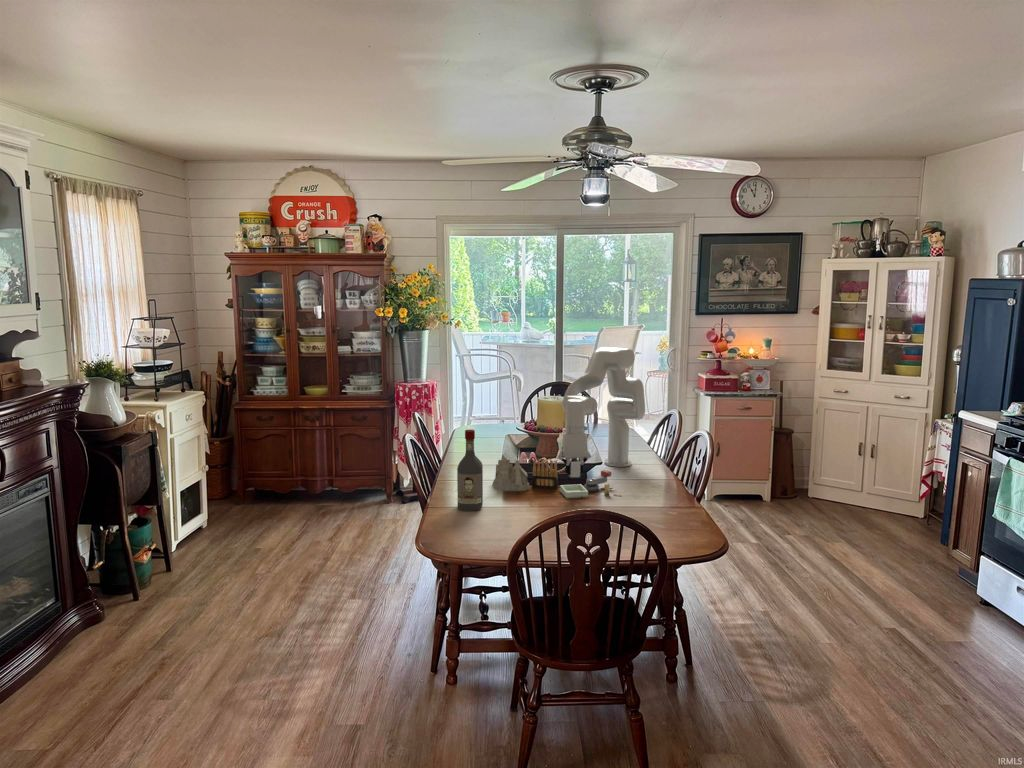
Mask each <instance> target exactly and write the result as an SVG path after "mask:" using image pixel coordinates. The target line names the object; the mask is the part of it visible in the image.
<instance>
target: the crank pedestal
mask: <svg viewBox="0 0 1024 768" xmlns="http://www.w3.org/2000/svg"><path fill="white" fill-rule="evenodd" d="M586 484H587V483H585V484H584V485H583V487H584V488H585V489H586V490H587V491H588V493H597V492H599V487H600V486H599V485H600V484H598V485H596V486H594V487H590V486H587V485H586ZM610 487H611V485H610V484H609V483H604V493H603V495H604V496H605V497H609V496H610ZM613 496H616V497H622V495H621V494H616V493H613Z"/></svg>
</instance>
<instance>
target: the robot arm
mask: <svg viewBox="0 0 1024 768" xmlns="http://www.w3.org/2000/svg"><path fill="white" fill-rule="evenodd" d="M634 363H635V352H634V351H633V350H632V349H631V348H627V347H626V348H625V347H624V348H623V347H610V346H609V347H608V346H601V347H599V348H597V349H596V350H594V351H593V352H592V353H591V357H590V358H589V361H588V364H587V366H586V368H585V369H586V370H585V371H584V374H582V375H580V376H579V377H577V378H576V379H575V380H574V381H572V383H570V385H568V387H567V389H566V390H565V392H564V396H563V399H562V401H561V404H562V405H561V406H562V410H563V411H564V412H565V432H563V433H562V438H561V445H560V446H561V447H560V452H559V454H558V455H557V456H556V457H557V459H558V460H559V461H561V462H563V463H564V464H565V473H566V474H567V476H569V475H570V459H571V458H577V459H578V460H580V461H581V465H580V476H582V474H583V471H584V470H583V468H584V466H583V465H584V464H585V463H586V462H587V461H588V460H589V459H591V458H592V455H591V453H590V452H589V450H588V440H587V439H588V437H587V433H586V431H587V430H589V427H588V426H586V425H585V422H586V421H585V417H586V416H591V415H593V414H595V413H596V411H597V410H598V406H599V405H598V401H597V400H596V398H594V397H592V396H584V395H579V394H581V393H583V392H585V391H587V390H591V389H594V388H598V387H600V386H601V385H602V384H603V383H604V380H605V377H607V389H608V393H609V395H610V396H611V397H612V398H610V399H609V400H608V402H607V406H606V410H607V415H608V416H607V417H608V442H607V443H608V444H607V445H608V446H607V451H608V452H607V459H604V464H605V465H606V466H609V467H615V468H626V467H630V466H632V460H630V459H629V446H630V444H629V443H630V425H629V423H628V421H627V420H634V421H640V420H642V419H644V417H645V415H646V401H645V389H644V387H645V386H644V384H643V382H642V380H641V379H640V378H636V377H628V376H627V372H626V370H627V369H630V368H631V367H632V366H633V365H634Z"/></svg>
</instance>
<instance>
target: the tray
mask: <svg viewBox="0 0 1024 768" xmlns="http://www.w3.org/2000/svg"><path fill="white" fill-rule="evenodd" d="M559 492H560V493H561V494H562V495H563V497H565V499H578V498H579V499H581V497H583V498H589V492H588V491H587V490H586V489H585V488H584V485H582V484H581V483H580V484H579V483H578V484H561V485H559Z"/></svg>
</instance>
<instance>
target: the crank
mask: <svg viewBox="0 0 1024 768" xmlns="http://www.w3.org/2000/svg"><path fill="white" fill-rule="evenodd" d="M609 477H612V471H609V470H605V469H602V470H600V475H599V476H595V477H592V478H586V483H585V484H586V485H587V486H590V487H594V486H596V485H600V484H606V483H608V478H609Z"/></svg>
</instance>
